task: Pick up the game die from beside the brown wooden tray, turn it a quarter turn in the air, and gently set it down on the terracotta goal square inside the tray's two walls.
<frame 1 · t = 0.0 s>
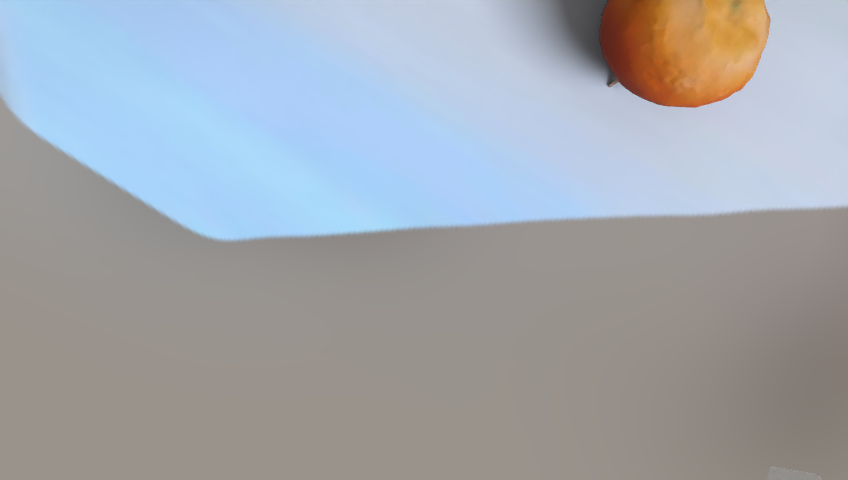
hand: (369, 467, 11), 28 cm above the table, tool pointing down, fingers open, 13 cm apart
fruit: (660, 33, 36), on the table
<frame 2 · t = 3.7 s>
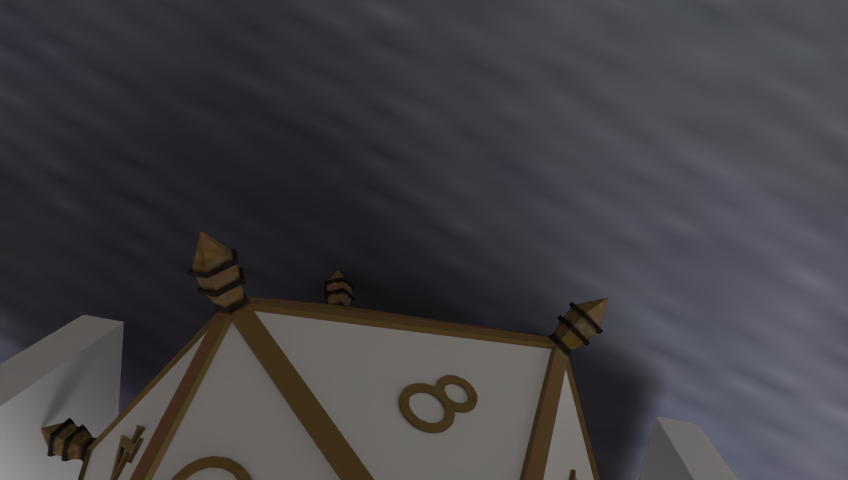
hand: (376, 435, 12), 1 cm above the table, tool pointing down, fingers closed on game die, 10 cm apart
game die: (383, 410, 13), on the table, touching gripper
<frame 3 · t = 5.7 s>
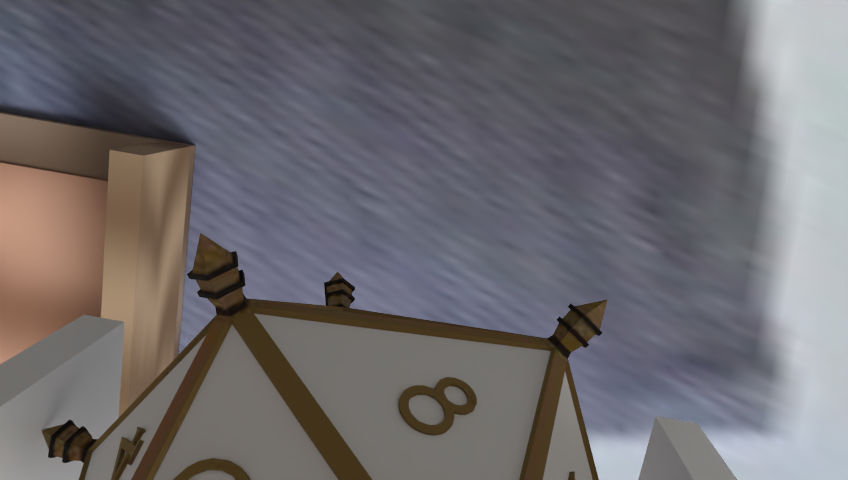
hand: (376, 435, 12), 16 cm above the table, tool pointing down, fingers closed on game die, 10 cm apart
game die: (383, 411, 13), point 15 cm above the table, touching gripper
brown wooden tray: (4, 314, 29), on the table
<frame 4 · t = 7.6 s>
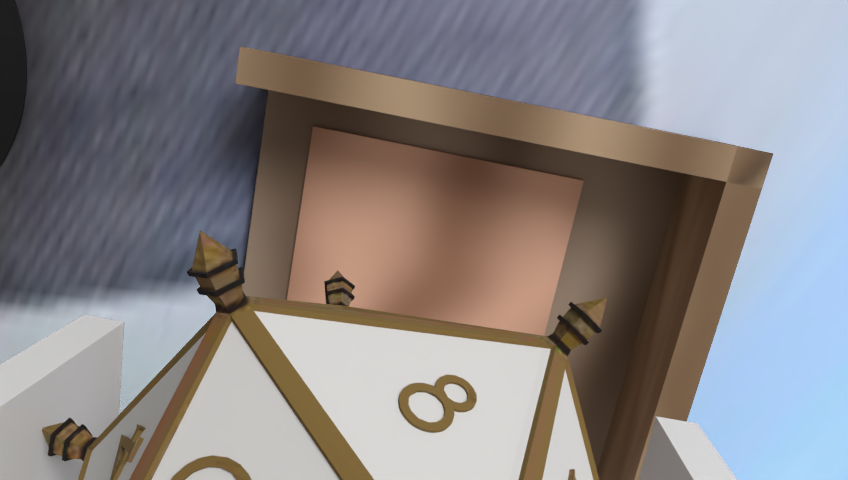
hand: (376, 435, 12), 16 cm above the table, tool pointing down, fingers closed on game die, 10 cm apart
game die: (383, 410, 13), point 15 cm above the table, touching gripper
brown wooden tray: (457, 285, 28), on the table
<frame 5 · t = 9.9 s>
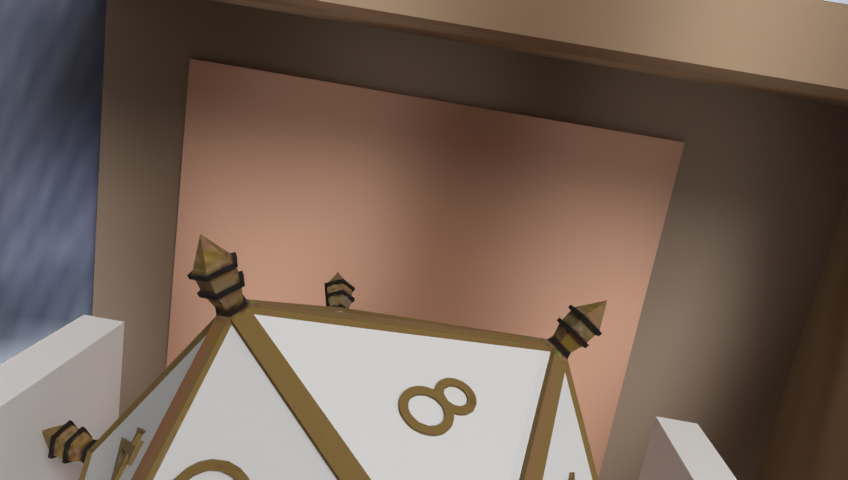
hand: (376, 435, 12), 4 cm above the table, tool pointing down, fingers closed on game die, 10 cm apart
game die: (383, 412, 13), point 3 cm above the table, touching gripper
brown wooden tray: (459, 333, 16), on the table
when the fingers open (2 cm above the table, at t = 11.9 s): game die stays where it is, resting on brown wooden tray.
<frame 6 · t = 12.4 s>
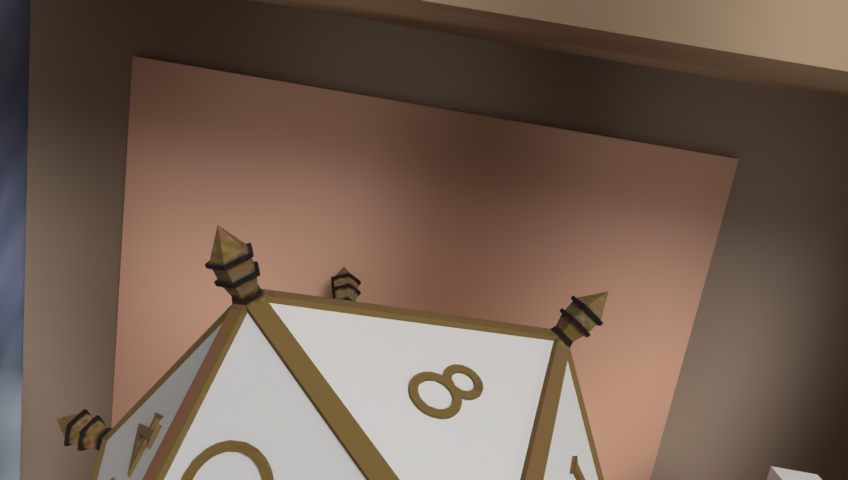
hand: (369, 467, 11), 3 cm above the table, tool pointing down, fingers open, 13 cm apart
game die: (388, 404, 13), resting on brown wooden tray
brown wooden tray: (461, 385, 13), on the table
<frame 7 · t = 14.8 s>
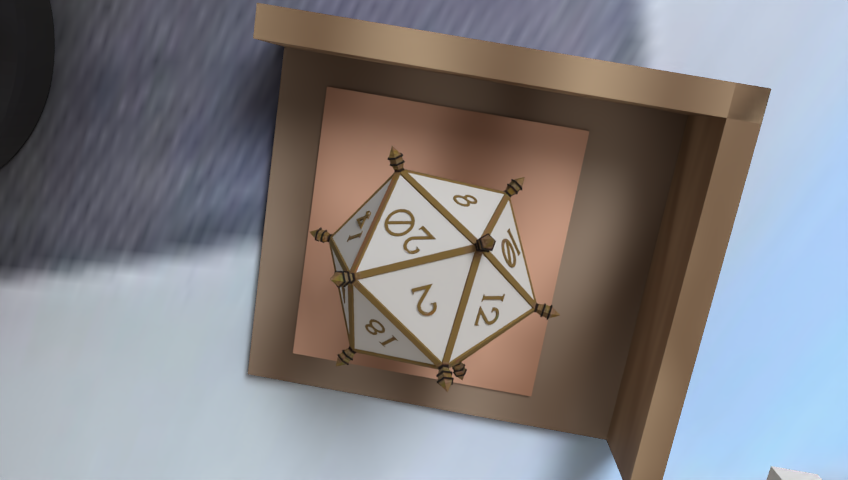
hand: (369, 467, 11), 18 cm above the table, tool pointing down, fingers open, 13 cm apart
game die: (435, 246, 28), resting on brown wooden tray
brown wooden tray: (469, 239, 29), on the table
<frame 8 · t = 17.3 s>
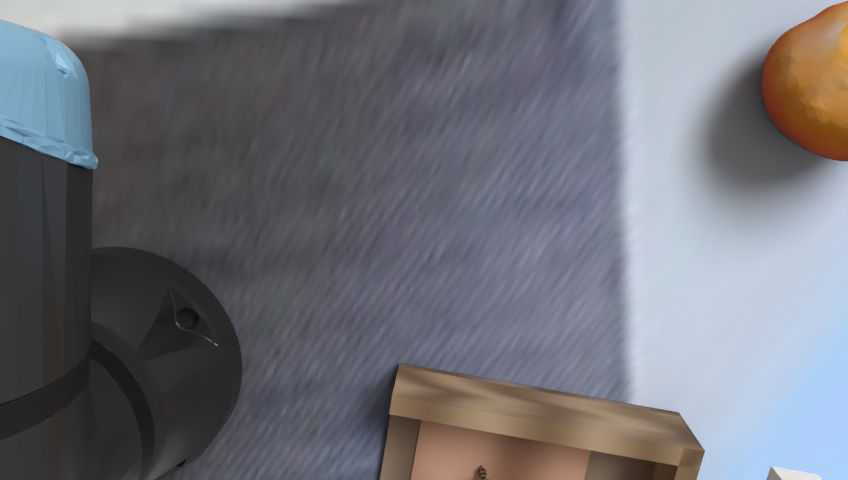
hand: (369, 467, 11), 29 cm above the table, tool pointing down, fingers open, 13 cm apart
fruit: (815, 83, 36), on the table
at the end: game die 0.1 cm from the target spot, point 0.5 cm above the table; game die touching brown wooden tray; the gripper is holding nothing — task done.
